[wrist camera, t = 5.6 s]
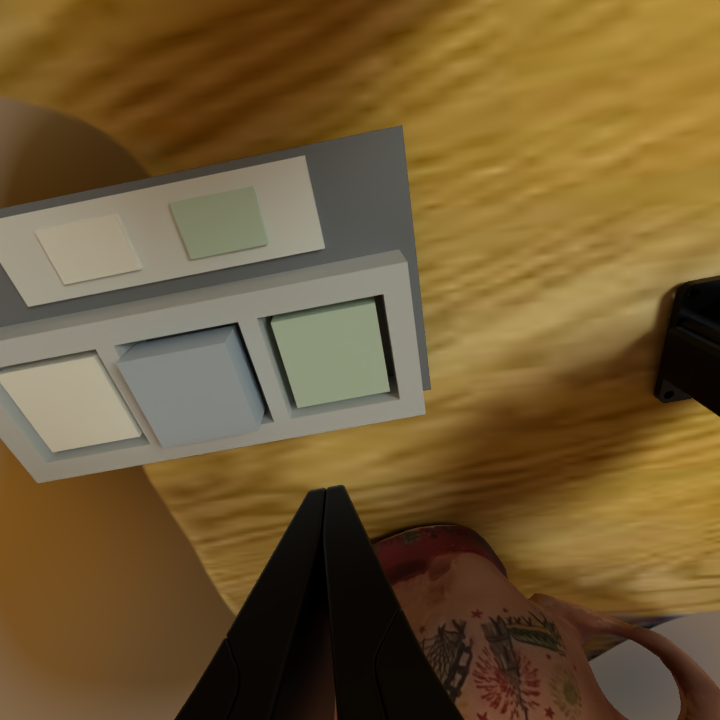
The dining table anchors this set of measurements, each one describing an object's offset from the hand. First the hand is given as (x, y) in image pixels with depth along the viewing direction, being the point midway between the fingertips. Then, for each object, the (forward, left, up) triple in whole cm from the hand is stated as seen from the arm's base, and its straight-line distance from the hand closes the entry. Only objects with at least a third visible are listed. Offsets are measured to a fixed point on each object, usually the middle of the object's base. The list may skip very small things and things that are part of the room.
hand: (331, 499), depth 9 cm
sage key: (0, 0, -9) cm, 9 cm away
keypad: (+5, -2, -10) cm, 11 cm away
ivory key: (+11, 0, -9) cm, 14 cm away
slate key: (+5, 0, -8) cm, 9 cm away
